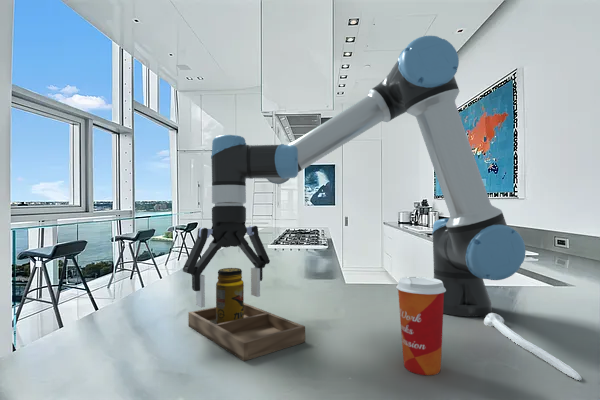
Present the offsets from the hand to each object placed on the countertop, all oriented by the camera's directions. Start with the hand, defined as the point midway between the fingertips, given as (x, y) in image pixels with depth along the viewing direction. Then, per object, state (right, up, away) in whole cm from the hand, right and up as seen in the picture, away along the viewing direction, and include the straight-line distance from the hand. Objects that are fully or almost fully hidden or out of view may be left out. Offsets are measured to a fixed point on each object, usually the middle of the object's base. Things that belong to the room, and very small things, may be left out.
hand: (229, 300), depth 78 cm
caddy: (+4, -5, -5) cm, 8 cm away
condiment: (-1, -5, -1) cm, 5 cm away
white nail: (+58, -5, -13) cm, 60 cm away
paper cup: (+35, -5, -22) cm, 42 cm away
